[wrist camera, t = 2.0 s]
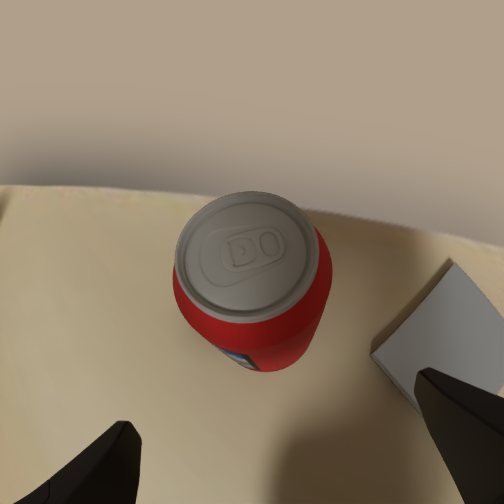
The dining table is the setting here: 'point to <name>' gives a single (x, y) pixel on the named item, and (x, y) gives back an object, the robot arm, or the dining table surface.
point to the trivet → (447, 338)
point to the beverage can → (253, 278)
